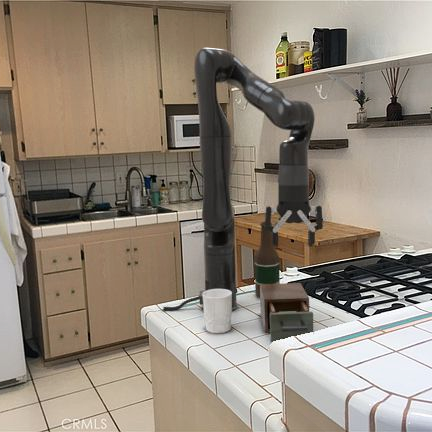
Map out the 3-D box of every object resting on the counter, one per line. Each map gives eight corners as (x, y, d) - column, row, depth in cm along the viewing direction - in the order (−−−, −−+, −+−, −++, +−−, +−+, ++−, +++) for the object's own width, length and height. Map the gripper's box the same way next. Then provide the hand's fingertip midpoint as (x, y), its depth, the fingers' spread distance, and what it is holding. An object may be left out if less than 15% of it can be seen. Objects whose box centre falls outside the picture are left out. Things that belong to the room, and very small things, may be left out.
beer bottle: (284, 295, 161) (283, 222, 157) (266, 301, 157) (265, 225, 153) (268, 290, 167) (267, 219, 163) (250, 295, 163) (248, 222, 159)
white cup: (199, 326, 138) (197, 291, 136) (225, 321, 141) (224, 287, 139) (210, 336, 130) (209, 299, 129) (238, 330, 134) (236, 294, 132)
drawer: (317, 350, 118) (317, 320, 117) (273, 351, 118) (272, 321, 117) (304, 322, 135) (304, 296, 134) (265, 324, 135) (265, 298, 134)
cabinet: (309, 331, 131) (309, 298, 130) (265, 332, 132) (264, 299, 130) (300, 313, 145) (300, 282, 143) (260, 314, 145) (259, 284, 144)
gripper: (266, 184, 122) (266, 250, 124) (325, 183, 121) (324, 249, 124) (263, 181, 129) (264, 243, 132) (319, 180, 128) (318, 242, 131)
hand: (293, 246), depth 128 cm, fingers open, 8 cm apart
